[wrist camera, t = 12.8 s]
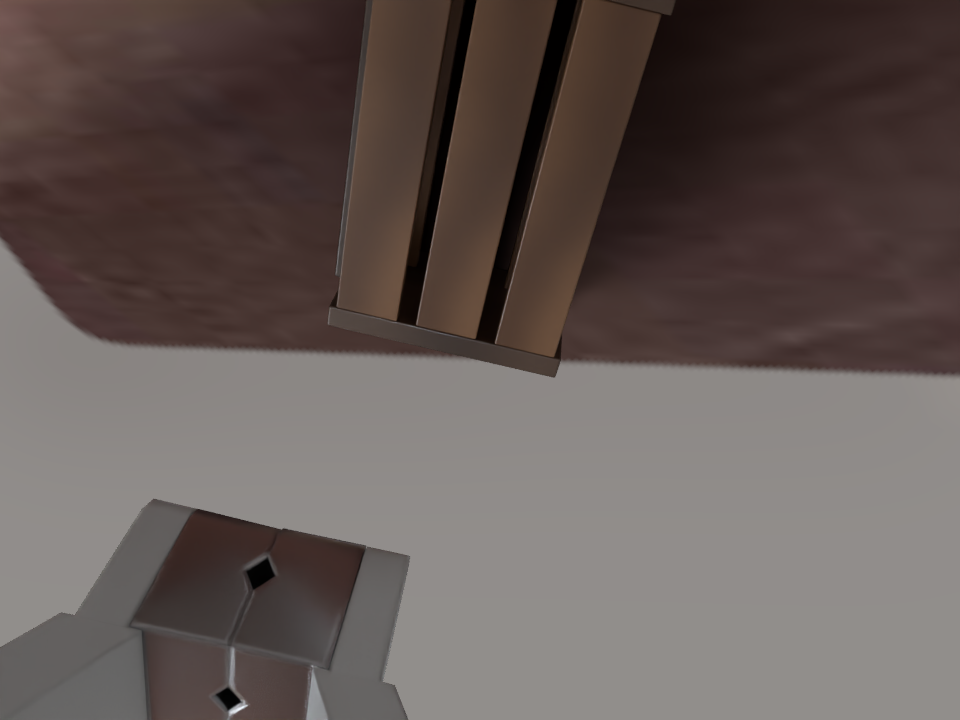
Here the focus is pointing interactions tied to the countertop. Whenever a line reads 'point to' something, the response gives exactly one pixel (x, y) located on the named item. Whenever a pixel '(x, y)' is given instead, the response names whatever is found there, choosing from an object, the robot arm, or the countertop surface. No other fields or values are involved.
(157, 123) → the countertop surface
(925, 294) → the countertop surface
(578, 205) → the rack
